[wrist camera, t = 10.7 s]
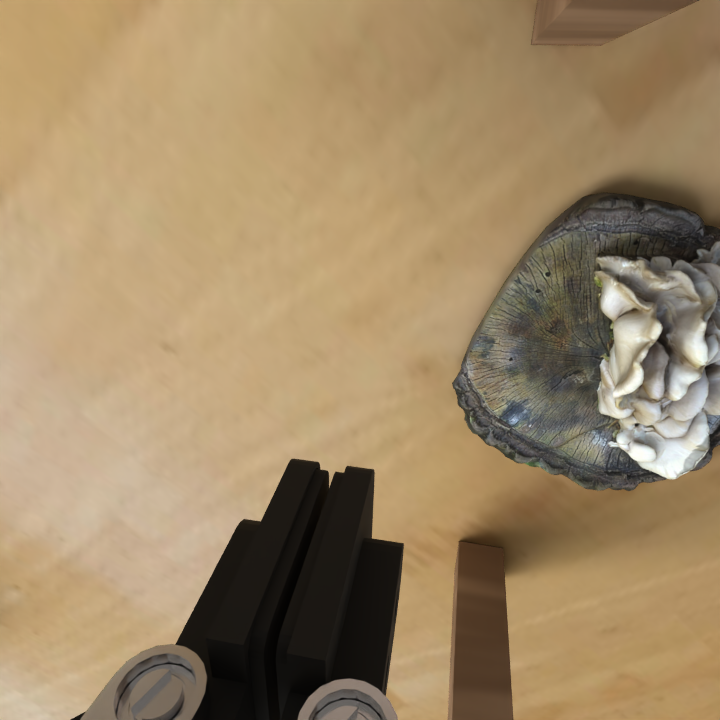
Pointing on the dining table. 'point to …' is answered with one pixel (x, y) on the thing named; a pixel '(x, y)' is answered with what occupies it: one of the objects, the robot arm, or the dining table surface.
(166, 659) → the robot arm
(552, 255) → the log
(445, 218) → the dining table surface
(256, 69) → the dining table surface
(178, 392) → the dining table surface
